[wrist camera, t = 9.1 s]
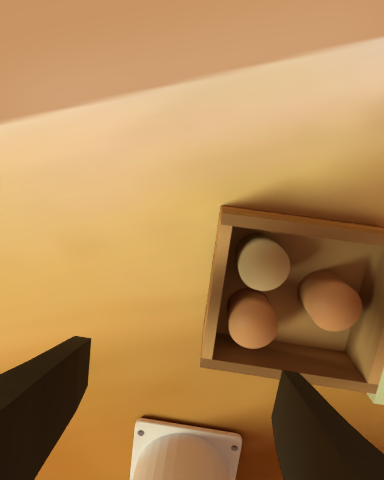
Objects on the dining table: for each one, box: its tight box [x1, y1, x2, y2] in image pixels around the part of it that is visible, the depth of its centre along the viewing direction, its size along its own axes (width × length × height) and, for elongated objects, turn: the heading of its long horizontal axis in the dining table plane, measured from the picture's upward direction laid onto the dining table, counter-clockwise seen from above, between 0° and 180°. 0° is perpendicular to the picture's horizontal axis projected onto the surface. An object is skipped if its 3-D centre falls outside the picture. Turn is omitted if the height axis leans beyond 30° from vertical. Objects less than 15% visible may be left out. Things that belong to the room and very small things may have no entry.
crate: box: [200, 206, 384, 394], centre depth 19 cm, size 9×10×4 cm
